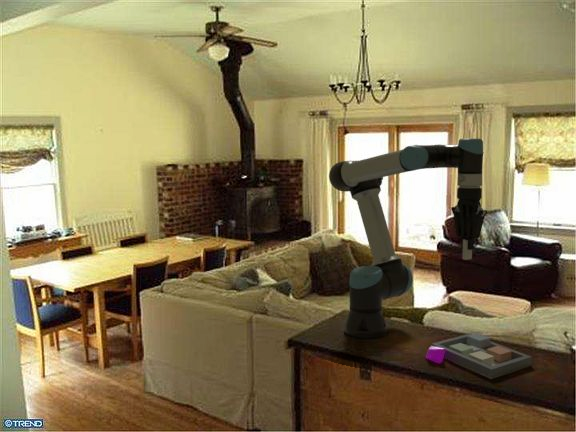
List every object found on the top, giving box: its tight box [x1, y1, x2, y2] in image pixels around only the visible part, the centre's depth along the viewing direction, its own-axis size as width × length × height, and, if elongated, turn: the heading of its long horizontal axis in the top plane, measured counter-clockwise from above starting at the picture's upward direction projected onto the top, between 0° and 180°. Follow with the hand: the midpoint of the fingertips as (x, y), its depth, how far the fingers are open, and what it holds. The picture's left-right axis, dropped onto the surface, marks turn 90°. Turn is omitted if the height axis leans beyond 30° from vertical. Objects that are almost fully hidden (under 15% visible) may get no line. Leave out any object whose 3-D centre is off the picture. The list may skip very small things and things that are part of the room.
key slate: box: [467, 332, 492, 348], centre depth 177 cm, size 5×5×2 cm
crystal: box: [425, 346, 445, 364], centre depth 171 cm, size 5×5×5 cm
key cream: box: [469, 351, 494, 365], centre depth 166 cm, size 5×5×2 cm
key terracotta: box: [486, 346, 512, 362], centre depth 170 cm, size 5×5×2 cm
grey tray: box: [430, 333, 533, 380], centre depth 172 cm, size 24×18×3 cm
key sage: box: [449, 343, 473, 357], centre depth 173 cm, size 5×5×2 cm
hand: (467, 258), depth 177 cm, fingers closed
